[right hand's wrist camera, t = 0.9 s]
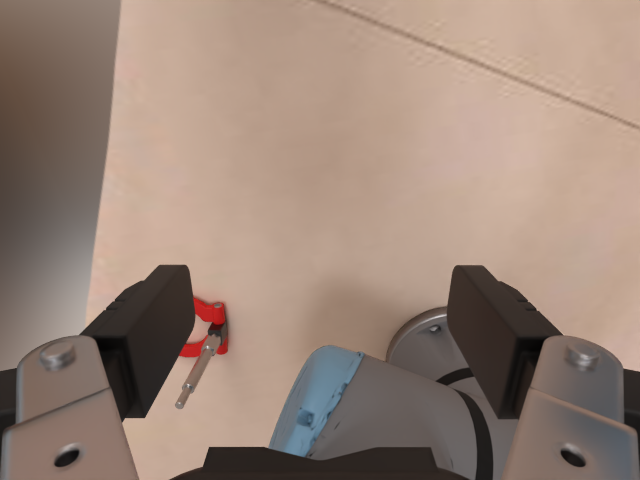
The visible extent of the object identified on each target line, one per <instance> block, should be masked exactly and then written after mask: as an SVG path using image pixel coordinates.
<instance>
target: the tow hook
mask: <svg viewBox="0 0 640 480" xmlns="http://www.w3.org/2000/svg"><path fill="white" fill-rule="evenodd" d="M193 299H194V306H195V314H197V315H198V316H199V317H200V318H201V319H202V320H203V321H205V322H212V324H211V326H210V328H209V329H208V335H207V336H206V337H205V339H204V340H202V341H201V342H199V343H196V344H185V345H184V347H183V349H182V351H181V353H180V354H179V356H183V357H197V356H199V357H198V359H197V361H196V363H195V365H194V367H193V368H192V370H191V372H190V374H189V376H188V377H187V379H186V381H185V383H184V385H183V387H182V390H183V391H182V393H181V395H180V397H179V398H178V400H177V402H176V404H175V406H176V408H178V409H182V408H183V407H184V405H185V403H186V401H187V399H188V397H189V395H190V394H191V393H193V392H194V390H195V388H196V386H197V384H198V382H199V380H200V378H201V376H202V374H203V372H204V370H205V368H206V366H207V364H208V362H209V360H210V358H211V357H212V356H214V355H215V353H217V354H220V355H222V354H225V353H227V351H228V348H227V327H226V320H225V313H224V304H223V303H215V304H213V305H206V304H205V303H204V302H202V301H200V300H198V299H195V298H193Z"/></svg>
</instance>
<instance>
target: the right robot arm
mask: <svg viewBox="0 0 640 480" xmlns="http://www.w3.org/2000/svg"><path fill="white" fill-rule="evenodd" d="M194 323H195V306H194V299H193V292H192V285H191V278H190V272H189V269H188V267H187V266H186V265H159V266H158V267H157V268H156V269H155V270H154V271H153V272H152V273H151V274H150V275H149V276H148V277H147V278H146V279H145V280H144V281H140V282H138V283H136V284H134V285H132V286H130V287H129V288H127V289H125V290H124V291H123V292H122V293H121V294H120V295H119V296H118V297H117V298H116V299H115V302H112V303H111V304H110V305H109V306H108V307H107V308H106V310H104V311H103V312H102V313H101V314H100V315H99V316H98V317H97V318H96V319H95V320H94V321H93V322H92V323H91V324H90V325H89V326H88V327H87V328H86V329H85V330H84V331H83V332H82V333H81V334H80V335H78V336H68V337H63V338H59V339H56V340H53V341H50V342H48V343H45V344H43V345H41V346H39V347H37V348H36V349H34V350H32V351H31V352H30V353H28V354H27V355H26V356H25V357H24V358H22V360H21V361H20V362H19V364H18V366H17V368H15V369H9V370H4V371H0V480H139V477H138V474H137V471H136V467H135V464H134V461H133V458H132V454H131V451H130V448H129V445H128V441H127V438H126V435H125V432H124V428H123V425H122V422H123V421H124V419H125V418H145V417H146V415H147V413H148V411H149V409H150V408H151V406H152V404H153V402H154V400H155V398H156V397H157V395H158V393H159V391H160V389H161V387H162V386H163V384H164V382H165V380H166V378H167V376H168V375H169V373H170V371H171V369H172V367H173V365H174V364H175V362H176V360H177V358H178V356H179V354H180V353H181V351H182V349H183V347H184V345H185V343H186V342H187V340H188V338H189V336H190V334H191V332H192V330H193V328H194ZM447 325H448V329H449V331H450V333H451V335H452V337H453V339H454V340H455V342H456V344H457V346H458V348H459V349H460V351H461V353H462V355H463V357H464V359H465V360H466V362H467V364H468V366H469V368H470V369H471V371H472V373H473V375H474V377H475V378H476V380H477V382H478V384H479V386H480V388H481V389H482V391H483V393H484V395H485V397H486V398H487V400H488V402H489V404H490V406H491V407H492V409H493V411H494V413H495V415H496V417H497V418H498V419H518V420H519V422H518V425H517V428H516V431H515V435H514V438H513V441H512V445H511V448H510V451H509V454H508V458H507V461H506V464H505V467H504V471H503V474H502V477H501V480H640V372H638V371H633V370H628V369H623V366H622V364H621V362H620V361H619V360H618V358H616V357H615V356H614V355H613V354H612V353H611V352H609V351H608V350H606V349H604V348H603V347H601V346H599V345H597V344H595V343H592V342H590V341H587V340H584V339H581V338H577V337H572V336H564V335H563V334H562V333H561V332H560V331H559V330H558V329H557V328H556V327H555V326H553V325H552V324H551V323H550V322H549V321H548V320H547V319H546V318H545V317H544V316H543V315H542V314H541V313H540V312H539V311H537V310H536V308H535V307H534V306H533V305H532V304H531V303H530V302H528V300H527V299H526V298H525V297H524V296H523V295H522V294H521V293H520V292H519V291H518V290H516V289H514V288H513V287H511V286H509V285H507V284H505V283H503V282H502V281H498V280H497V279H496V278H495V277H494V276H493V275H492V274H491V273H490V272H489V271H488V270H487V269H486V268H485V267H484V266H482V265H457V266H455V267H454V269H453V272H452V279H451V285H450V292H449V299H448V306H447ZM170 480H470V479H468V478H466V477H464V476H462V475H460V474H457V473H455V472H452V471H449V470H446V469H443V468H439V467H437V465H436V462H435V459H434V455H433V452H432V449H431V447H375V448H371V449H367V450H363V451H359V452H355V453H351V454H347V455H342V456H338V457H334V458H330V459H326V460H314V459H310V458H306V457H302V456H298V455H293V454H289V453H285V452H281V451H277V450H273V449H269V448H265V447H209V449H208V452H207V455H206V459H205V462H204V465H203V467H201V468H197V469H194V470H191V471H188V472H185V473H183V474H180V475H178V476H176V477H174V478H172V479H170Z"/></svg>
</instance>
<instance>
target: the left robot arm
mask: <svg viewBox="0 0 640 480" xmlns="http://www.w3.org/2000/svg"><path fill="white" fill-rule="evenodd" d="M518 422H519V420H518V419H498V418H497V417H496V415H495V413H494V411H493V409H492V407H491V406H490V404H489V402H488V400H487V398H486V397H485V395H484V393H483V391H482V389H481V388H480V386H479V384H478V382H477V380H476V378H475V377H474V375H473V373H472V371H471V369H470V368H469V366H468V364H467V362H466V360H465V359H464V357H463V355H462V353H461V351H460V349H459V348H458V346H457V344H456V342H455V340H454V339H453V337H452V335H451V333H450V331H449V329H448V325H447V307H443V308H437V309H433V310H430V311H427V312H425V313H422V314H420V315H418V316H416V317H415V318H413V319H411V320H410V321H409V322H407V323H406V324H405V325H404V326H403V327H402V328H401V329H400V330H399V331H398V332H397V333H396V335H395V336H394V338H393V339H392V341H391V343H390V345H389V348H388V352H387V359H386V362H384V361H381V360H379V359H376V358H374V357H371V356H368V355H366V354H364V353H363V352H353V351H350V350H347V349H343V348H340V347H336V346H332V345H328V346H323V347H321V348H319V349H317V350H316V351H314V352H313V353H312V354H311V356H310V357H309V358H308V359H307V361H306V362H305V364H304V366H303V367H302V369H301V371H300V373H299V375H298V377H297V379H296V381H295V383H294V385H293V387H292V389H291V391H290V393H289V396H288V398H287V400H286V402H285V405H284V407H283V409H282V412H281V414H280V417H279V419H278V422H277V425H276V427H275V430H274V433H273V435H272V438H271V441H270V444H269V447H268V448H269V449H273V450H277V451H281V452H285V453H289V454H293V455H298V456H302V457H306V458H310V459H314V460H326V459H330V458H334V457H338V456H342V455H347V454H351V453H355V452H359V451H363V450H367V449H371V448H375V447H431V449H432V452H433V455H434V459H435V462H436V465H437V467H439V468H443V469H446V470H449V471H452V472H455V473H457V474H460V475H462V476H464V477H466V478H468V479H470V480H501V477H502V474H503V471H504V467H505V464H506V461H507V458H508V454H509V451H510V448H511V445H512V441H513V438H514V435H515V431H516V428H517V425H518Z"/></svg>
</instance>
